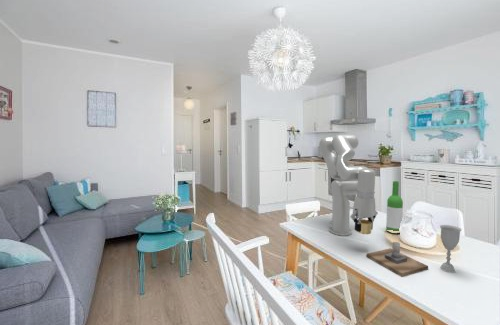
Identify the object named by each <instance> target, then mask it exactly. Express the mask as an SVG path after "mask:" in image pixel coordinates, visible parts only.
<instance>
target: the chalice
mask: <svg viewBox="0 0 500 325" xmlns="http://www.w3.org/2000/svg"><path fill="white" fill-rule="evenodd" d="M439 227H440V239H441V240H440V241H441V243H442V246H443V247H444V249H445V250H446V251H447V252H446V253H445V254H446V257H445V259H446V261H445V262H443V263H442V264H441V266H440V268H439V269H440V270H441V271H443V272H446V273H450V274H454V273H456V269H455V267H454V265H453V264H452V263H451V260H452V258H451V255H452V254H451V251H453V250H455V248H456V247H457V246H458V244H459V243H460V235H461V234H460V233H461V231H462V230H463V229H462V228H461V227H458V226H455V225H450V224H441V225H439Z"/></svg>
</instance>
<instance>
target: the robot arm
mask: <svg viewBox="0 0 500 325" xmlns="http://www.w3.org/2000/svg"><path fill="white" fill-rule="evenodd" d="M358 146H359V139H358V137H357V135H355V134H337V135H334V136H326V137H323V138H321V139H320V140H319V144H318V148H319V153H320V154H321V157H322V158H323V160H324V162H325V164H326V168H327V171H328V174H329V176H330V178H331V179H333V181H331V183H330V184H331V185H330V189H331V196H332V198H331V199H332V207H331V208H332V211H331V212H332V215H331V216H332V217H331V221H329V222H328V224H329V225H330V227H329V230H328V231H329V232H330V233H331V234H332V235H337V236H342V237H344V236H351V235H352V234H353V231H352V229H351V228H350V218H351V220H352V221H353V223H354V230H355V231H356V232H357V231H358V232H360V231H361V224H360V222H361V220H362V219H367V220H369V221H371V222H372V230H373V228H374V226H373V225H374V222H375V219H376V218H377V215H378V211H377V210H376V198H375V193H376V192H375V189H376V188H375V186H376V171H375V170H374V169H372V168H369V167H367V166H365V165H357V166H355V164H353V163H350V160H353V158H354V157H355V155H356V151H355V149H357V147H358ZM334 151H335V152H334ZM347 162H349V163H347ZM347 196H355V197H354V201H353V205H352V213H351V214H350V210H351V206H350V205H351V203H350V200H349V198H348V197H347ZM358 219H359V220H358ZM358 232H357V233H358Z"/></svg>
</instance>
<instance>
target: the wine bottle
mask: <svg viewBox="0 0 500 325" xmlns="http://www.w3.org/2000/svg"><path fill="white" fill-rule="evenodd" d="M399 184H400V182H399V181H397V180H396V181H395V180H394V181H392V189H391V190H392V192H391V193H392V194H391V195H390V196H389V197H388V198H387V202H386V203H387V204H386V222H385V224H386V231H387V230H393V231H399V228H400V223H401V221H402V222H403V207H404V201H403V199H402V197H401V196H399V195H400V194H399V191H400V190H399V187H400V185H399Z"/></svg>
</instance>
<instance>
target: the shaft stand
mask: <svg viewBox="0 0 500 325" xmlns="http://www.w3.org/2000/svg"><path fill="white" fill-rule="evenodd" d="M400 249H401V243H400V242H399V241H398V242H397V241H393V242H392V248H385V249H381V250H377V251H376V250H375V251H372V252H367V253H366V254H365V255H366V258H368V259H370V260H372V261H373V262H375V263H377V264H379V265H380V266H381V267H384V268H386V269H388V270H389V271H391V272H393V273H394V274H396V275H398V276H400V277H407V276H409V275H414V274H417V273H420V272H423V271H427V270H429V266H428V265H426V264H425V263H423V262H421V261H419V260H416V259H414V258H412V257H410V256H408V255H406V254H404V253H401V250H400Z"/></svg>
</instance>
